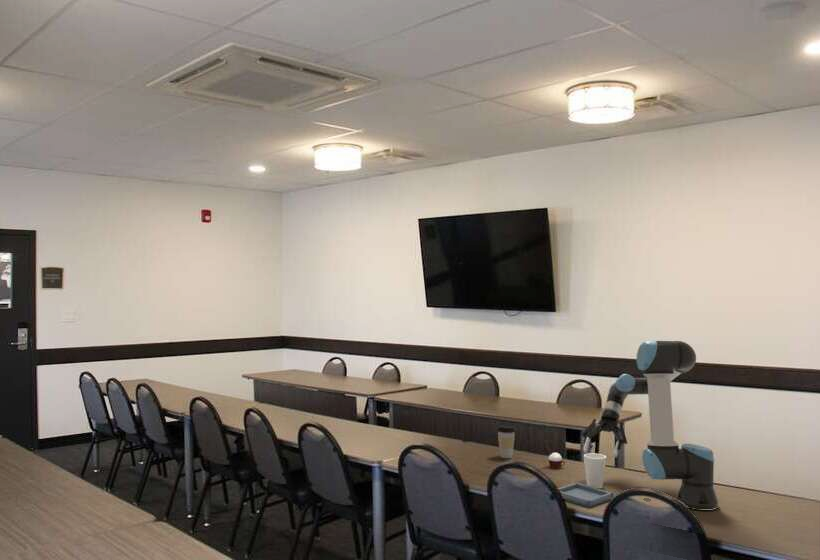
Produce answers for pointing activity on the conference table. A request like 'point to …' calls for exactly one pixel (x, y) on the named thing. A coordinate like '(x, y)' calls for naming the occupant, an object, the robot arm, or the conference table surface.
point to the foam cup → (594, 469)
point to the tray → (585, 495)
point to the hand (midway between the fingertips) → (599, 453)
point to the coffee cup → (506, 440)
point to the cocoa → (554, 458)
